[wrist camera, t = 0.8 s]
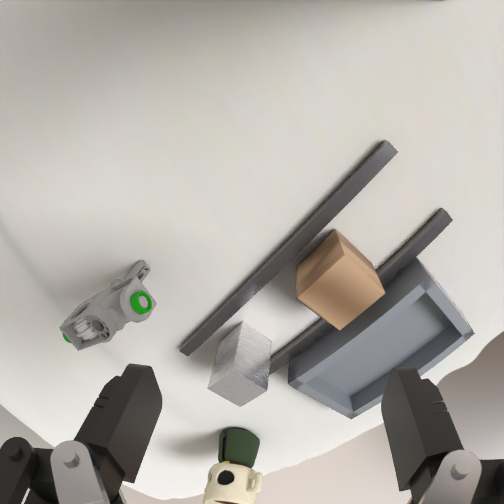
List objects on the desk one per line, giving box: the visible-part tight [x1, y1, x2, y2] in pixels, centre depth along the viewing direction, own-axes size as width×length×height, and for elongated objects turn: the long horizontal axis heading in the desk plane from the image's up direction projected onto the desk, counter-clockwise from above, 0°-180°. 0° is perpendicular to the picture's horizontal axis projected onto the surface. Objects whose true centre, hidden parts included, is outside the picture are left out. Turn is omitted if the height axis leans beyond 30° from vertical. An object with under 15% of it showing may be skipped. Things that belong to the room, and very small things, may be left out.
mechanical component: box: [59, 260, 156, 351], centre depth 26 cm, size 3×10×10 cm, turn 118°
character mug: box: [203, 429, 263, 504], centre depth 37 cm, size 11×7×13 cm, turn 132°
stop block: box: [208, 322, 272, 407], centre depth 30 cm, size 4×4×7 cm
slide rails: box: [180, 140, 453, 375], centre depth 29 cm, size 30×10×1 cm, turn 140°
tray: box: [288, 257, 475, 419], centre depth 30 cm, size 18×11×4 cm, turn 140°
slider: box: [296, 229, 385, 330], centre depth 26 cm, size 6×5×5 cm
